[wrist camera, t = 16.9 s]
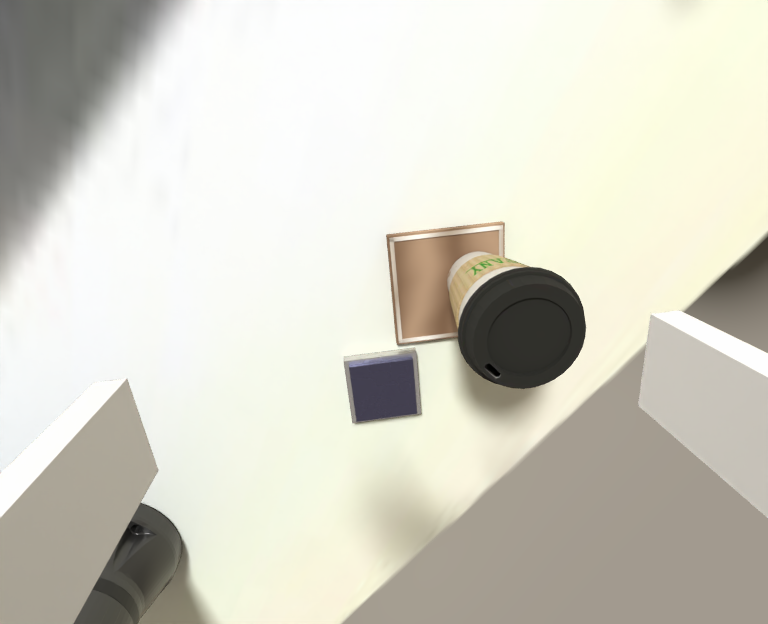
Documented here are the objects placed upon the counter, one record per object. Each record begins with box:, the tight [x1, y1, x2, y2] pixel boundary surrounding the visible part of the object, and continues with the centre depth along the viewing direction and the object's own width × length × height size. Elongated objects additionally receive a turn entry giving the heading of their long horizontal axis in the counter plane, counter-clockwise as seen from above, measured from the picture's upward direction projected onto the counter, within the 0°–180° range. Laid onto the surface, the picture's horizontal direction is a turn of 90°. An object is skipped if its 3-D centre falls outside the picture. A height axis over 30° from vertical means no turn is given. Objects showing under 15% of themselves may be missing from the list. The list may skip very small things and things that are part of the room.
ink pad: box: [344, 348, 421, 423], centre depth 50 cm, size 8×8×2 cm
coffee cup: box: [447, 251, 586, 389], centre depth 40 cm, size 10×10×15 cm
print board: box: [386, 222, 505, 345], centre depth 47 cm, size 12×12×1 cm
